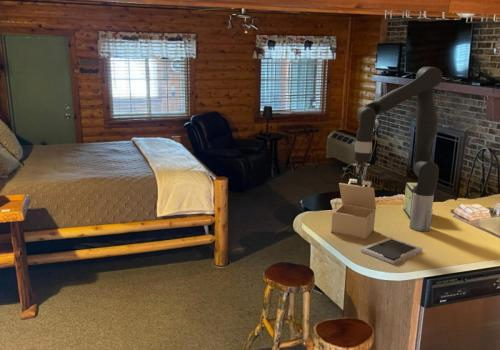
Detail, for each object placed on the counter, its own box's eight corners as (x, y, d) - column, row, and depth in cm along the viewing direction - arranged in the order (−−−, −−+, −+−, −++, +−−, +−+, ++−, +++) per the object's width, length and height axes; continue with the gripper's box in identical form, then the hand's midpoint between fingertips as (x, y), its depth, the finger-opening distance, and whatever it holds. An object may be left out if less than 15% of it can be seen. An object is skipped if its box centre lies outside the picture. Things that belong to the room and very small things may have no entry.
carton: (373, 230, 223) (375, 210, 221) (365, 239, 211) (367, 218, 209) (340, 224, 231) (342, 204, 228) (331, 232, 219) (332, 212, 216)
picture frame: (393, 265, 187) (421, 253, 200) (393, 258, 186) (422, 246, 199) (360, 252, 199) (389, 241, 212) (361, 246, 198) (390, 235, 211)
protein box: (422, 210, 254) (426, 182, 250) (430, 220, 239) (434, 190, 235) (402, 209, 255) (405, 181, 251) (409, 219, 240) (412, 189, 236)
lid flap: (375, 209, 221) (379, 199, 225) (373, 189, 212) (377, 178, 216) (342, 204, 228) (346, 194, 232) (338, 184, 219) (343, 173, 223)
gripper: (367, 154, 210) (363, 191, 214) (375, 149, 222) (371, 185, 226) (350, 151, 213) (347, 189, 217) (359, 147, 225) (355, 183, 229)
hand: (359, 187), depth 221 cm, fingers closed on lid flap
